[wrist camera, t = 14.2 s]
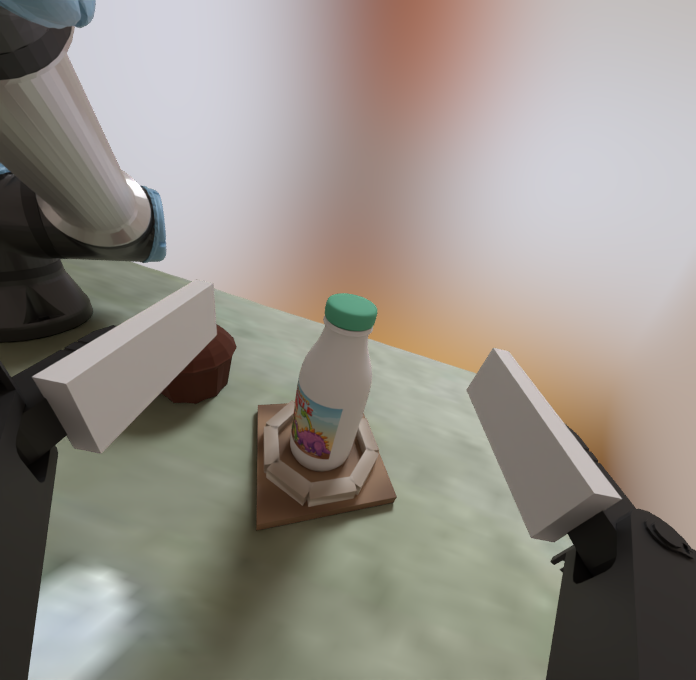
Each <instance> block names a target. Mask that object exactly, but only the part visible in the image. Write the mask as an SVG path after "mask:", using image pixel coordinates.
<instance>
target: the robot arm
mask: <svg viewBox="0 0 696 680" xmlns="http://www.w3.org/2000/svg"><path fill="white" fill-rule="evenodd" d="M95 5H96V4H95V0H0V342H9V341H21V340H29V339H36V338H41V337H46V336H50V335H54V334H57V333H61V332H64V331H67V330H70V329H72V328H74V327H77V326H79V325H80V324H82V323H84V322H85V321H87V320H88V319H89V318H90V317H91V316H92V314H93V308H92V305H91V303H90V300H89V298H88V296H87V295H86V294H85V293H84V292H83V291H82V290H81V288H80V287H79V286H78V285H77V284H76V282H75V281H74V280H73V279H72V278H71V277H70V275H69V274H68V273H67V272H66V271H65V269H64V267H63V265H62V262H61V260H60V259H88V260H112V261H136V262H137V261H138V262H142V263H146V262H158V261H162V260H163V259H164V258H165V256H166V241H165V240H166V233H165V223H164V214H163V206H162V202H161V198H160V195H159V193H158V192H157V191H156V190H153V189H149V188H147V187H145V186H139V185H138V183H137V182H136V181H135V180H133V178H132V177H130V176H129V175H128V174H127V173H125V172H124V171H122V170H121V169H120V166H119V164H118V162H117V160H116V158H115V156H114V154H113V152H112V150H111V147H110V145H109V143H108V141H107V139H106V137H105V134H104V132H103V130H102V128H101V126H100V124H99V122H98V120H97V117H96V115H95V113H94V111H93V109H92V107H91V105H90V102H89V100H88V98H87V96H86V94H85V92H84V90H83V87H82V85H81V83H80V81H79V79H78V77H77V75H76V73H75V71H74V68H73V66H72V64H71V62H70V60H69V58H68V56H67V51H68V49H69V46H70V44H71V42H72V38H73V33H74V28H75V27H74V26H76V27H78V28H82V27H84V26H86V25H88V24H89V23H90V22H91V20H92V19H93V17H94V11H95ZM216 335H217V328H216V313H215V299H214V285H213V283H209V282H205V281H201V280H194V281H193V282H191V283H189V284H188V285H186V286H184V287H183V288H181V289H179V290H177V291H176V292H174V293H172V294H171V295H169V296H167V297H166V298H164V299H162V300H161V301H159V302H157V303H156V304H154V305H152V306H150V307H149V308H147V309H145V310H144V311H142V312H140V313H139V314H137V315H135V316H134V317H132V318H130V319H129V320H127V321H125V322H123V323H122V324H120V325H118V326H114V325H112V326H109V327H106V328H103V329H100V330H96V331H93V332H92V333H90V334H88V335H86V336H85V337H83V338H81V339H79V340H78V342H74V343H72V344H70V345H69V346H67V347H65V349H64V350H60V351H58V352H56V353H54V354H52V355H51V356H49V357H47V358H45V359H44V360H42V361H40V362H38V363H36V364H35V365H33V366H31V367H29V368H28V369H26V370H24V371H22V372H20V373H19V374H17V375H15V376H13V377H11V376H10V375H9V373H8V372H7V370H6V369H5V367H4V366H3V364H2V363H1V361H0V680H28V672H29V665H30V658H31V650H32V643H33V635H34V628H35V621H36V613H37V606H38V598H39V591H40V584H41V576H42V569H43V561H44V554H45V547H46V539H47V532H48V524H49V517H50V510H51V502H52V495H53V488H54V480H55V473H56V465H57V458H58V451H57V447H56V446H55V445H56V444H57V443H58V442H59V441H60V440H62V439H63V438H64V437H65V436H66V435H67V437H68V439H69V441H70V442H71V444H72V446H73V447H74V448H75V449H80V450H86V451H91V452H96V453H102V452H103V451H104V450H105V449H106V448H107V447H108V446H109V445H110V444H111V443H112V442H113V441H114V440H115V439H116V438H117V437H118V436H119V435H120V434H121V433H122V432H123V431H124V430H125V429H126V428H127V427H128V426H129V425H130V424H131V423H132V422H133V420H134V419H135V418H136V417H137V416H138V415H139V414H140V413H141V412H142V411H143V410H144V409H145V408H146V407H147V406H148V405H149V404H150V403H151V402H152V401H153V400H154V399H155V398H156V397H157V396H158V395H159V394H160V393H161V392H162V391H163V390H164V389H165V388H166V387H167V386H168V385H169V384H170V382H171V381H172V380H173V379H174V378H175V377H176V376H177V375H178V374H179V373H180V372H181V371H182V370H183V369H184V368H185V367H186V366H187V365H188V364H189V363H190V362H191V361H192V360H193V359H194V358H195V357H196V356H197V355H198V354H199V353H200V352H201V351H202V350H203V349H204V348H205V347H206V346H207V344H208V343H209V342H210V341H211V340H212V339H213V338H214V337H215V336H216ZM467 392H468V394H469V397H470V399H471V401H472V404H473V406H474V408H475V410H476V413H477V415H478V417H479V420H480V422H481V424H482V427H483V429H484V431H485V433H486V436H487V438H488V440H489V443H490V445H491V447H492V450H493V452H494V454H495V456H496V459H497V461H498V463H499V466H500V468H501V470H502V472H503V475H504V477H505V479H506V482H507V484H508V486H509V489H510V491H511V493H512V495H513V498H514V500H515V502H516V505H517V507H518V509H519V511H520V514H521V516H522V518H523V521H524V523H525V525H526V528H527V530H528V532H529V534H530V537H531V538H534V539H540V540H545V541H550V542H555V541H557V540H559V539H560V538H562V537H563V536H565V535H566V534H568V535H569V537H570V539H571V541H572V543H573V544H574V545H572V546H571V547H569V548H567V549H566V550H564V551H562V552H561V553H559V554H557V555H556V556H554V557H553V558H552V560H551V561H550V562H551V563H552V564H554V565H555V564H557V563H559V562H560V561H565V563H564V567H563V568H561V569H560V571H562V572H563V576H562V582H561V588H560V595H559V601H558V607H557V614H556V620H555V626H554V632H553V639H552V645H551V651H550V657H549V664H548V670H547V676H546V680H696V551H695V550H693V549H691V547H690V546H689V545H688V543H687V542H686V541H685V540H684V538H682V537H681V536H680V535H679V534H678V533H677V532H676V531H675V530H674V529H673V528H672V527H671V526H669V525H668V524H667V523H666V522H664V521H663V520H661V519H660V518H659V517H657V516H655V515H653V514H652V513H650V512H648V511H644V510H641V509H636V508H635V507H634V505H633V504H632V503H631V502H630V500H629V499H628V498H627V497H626V495H624V493H623V491H622V490H621V489H620V488H619V486H618V485H617V484H616V483H615V481H614V480H613V479H612V477H611V476H610V475H609V474H608V472H607V471H606V470H605V469H604V467H603V466H602V465H601V464H600V463H598V460H597V458H596V457H595V456H594V455H593V453H592V452H589V448H588V447H587V446H586V445H585V443H584V442H583V441H582V439H581V438H580V437H579V436H578V435H577V434H576V433H575V432H574V431H573V430H572V429H570V428H569V427H568V426H567V425H566V424H565V423H563V421H562V420H561V419H560V417H559V416H558V415H557V414H556V412H555V411H554V410H553V408H552V407H551V406H550V404H549V403H548V402H547V401H546V399H545V398H544V397H543V395H542V394H541V393H540V391H539V390H538V389H537V388H536V386H535V385H534V384H533V383H532V381H531V380H530V379H529V377H528V376H527V375H526V374H525V372H524V371H523V369H522V368H521V367H520V366H519V364H518V363H517V362H516V360H515V359H514V358H513V356H512V355H511V354H510V352H509V351H505V350H500V349H496V348H493V349H492V351H491V352H490V354H489V355H488V357H487V358H486V360H485V362H484V363H483V365H482V366H481V368H480V370H479V371H478V373H477V374H476V376H475V377H474V379H473V381H472V382H471V384H470V385H469V387H468V388H467Z"/></svg>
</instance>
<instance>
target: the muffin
mask: <svg viewBox="0 0 696 680" xmlns="http://www.w3.org/2000/svg"><path fill="white" fill-rule="evenodd" d="M216 328H217V335H216V336H215V337H214V338H213V339H212V340H211V341H210V342H209V343H208V344H207V346H206V347H205V348H204V349H203V350H202V351H201V352H200V353H199V354H198V355H197V356H196V357H195V358H194V359H193V360H192V361H191V362H190V363H189V364H188V365H187V366H186V367H185V368H184V369H183V370H182V371H181V372H180V373H179V374H178V375H177V376H176V377H175V378H174V379H173V380H172V381H171V382H170V384H169V385H168V386H167V387H166V388H165V389H164V390H163V391H162V392H161V393H160V394H162V395H164V396H166V397H168V398H169V399H170V400H171V401H172V402H173V403H194V404H196V403H199V402H201V401H203V400H205V399H208V398H212V397H215V396H217V395H218V393H219V392H220V391H221V389H222V388H223V387H225V386H226V385H227V383H228V377H229V371H230V365H231V360H232V355H233V353H234V351H235V349H236V344H235V341H234V338H233V337H232V336H231V335H230V334H229V333H228V332H227V331H226V330H224V329H223V328H222V327H220V326H219V325H217V324H216Z"/></svg>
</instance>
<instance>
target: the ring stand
mask: <svg viewBox="0 0 696 680" xmlns="http://www.w3.org/2000/svg"><path fill="white" fill-rule="evenodd" d="M294 406H295V402H294V401H293V400H292V401H291V402H289V403H288V404H270V405H258V442H257V521H256V531H257V530H262V529H266V528H271V527H276V526H281V525H286V524H291V523H296V522H300V521H305V520H310V519H315V518H320V517H325V516H330V515H334V514H339V513H344V512H349V511H354V510H359V509H364V508H368V507H373V506H378V505H383V504H388V503H393V502H394V501H395V499H396V494H395V491H394V489H393V486H392V484H391V481H390V479H389V476H388V474H387V471H386V469H385V466H384V464H383V461H382V459H381V456H380V454H379V448H378V446H377V443H376V441H375V438H374V436H373V433H372V431H371V428H370V426H369V423H368V421H367V418H365V416H364V413H363V415H362V418H361V421H360V424H359V427H358V430H357V433H356V436H355V439H354V442H353V445H352V448H351V451H350V453H349V456H348V458H347V459H346V461H345V462H344V463H343V464H342V465H340V466H339V467H337V468H335V469H333V470H330V471H324V472H320V471H313V470H310V469H308V468H306V467H304V466H303V465H301V464H300V463H299V462H298V461H297V460H296V459H295V457H294V455H293V453H292V451H291V447H290V437H291V428H292V421H293V413H294Z"/></svg>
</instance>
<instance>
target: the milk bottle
mask: <svg viewBox="0 0 696 680" xmlns="http://www.w3.org/2000/svg"><path fill="white" fill-rule="evenodd" d="M376 316H377V308H376V306H375V305H374V304H373V303H372V302H371V301H369V300H367V299H365V298H363V297H360V296H357V295H353V294H344V293H343V294H335V295H332V296H330V297H329V298H328V300H327V302H326V307H325V316H324V319H323V320H324V324H325V328H324V330H323V332H322V334H321V336H320V337H319V339H318V340H317V342H316V343H315V344H314V346H313V347H312V348H311V349H310V351H309V352H308V354H307V355H306V357H305V359H304V362H303V364H302V367H301V370H300V374H299V380H298V385H297V392H296V399H295V406H294V413H293V421H292V428H291V437H290V447H291V451H292V453H293V455H294V457H295V459H296V460H297V461H298V462H299V463H300V464H301V465H303V466H304V467H306V468H308V469H310V470H313V471H320V472H324V471H330V470H333V469H335V468H337V467H339V466H340V465H342V464H343V463H344V462H345V461H346V459H347V458H348V456H349V453H350V451H351V448H352V445H353V442H354V439H355V436H356V433H357V430H358V427H359V424H360V421H361V418H362V415H363V412H364V409H365V406H366V402H367V399H368V395H369V392H370V388H371V382H372V367H371V361H370V357H369V352H368V335H369V334H370V333H371V332H372V330H373V325H374V323H375V320H376Z"/></svg>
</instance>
